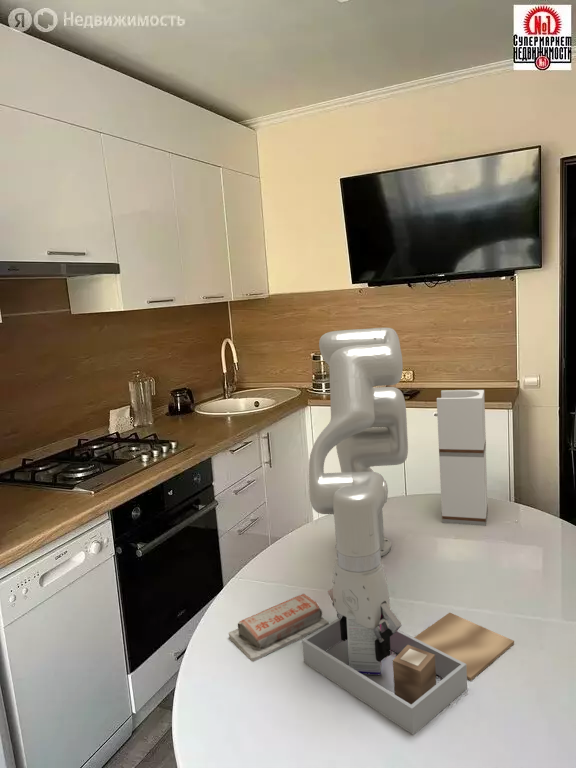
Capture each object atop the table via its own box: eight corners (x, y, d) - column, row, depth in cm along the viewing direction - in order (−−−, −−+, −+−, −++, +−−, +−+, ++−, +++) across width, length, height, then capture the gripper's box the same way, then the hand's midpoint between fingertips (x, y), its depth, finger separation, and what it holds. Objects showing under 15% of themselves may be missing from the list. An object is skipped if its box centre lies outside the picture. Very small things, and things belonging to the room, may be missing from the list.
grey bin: (303, 662, 109) (301, 640, 108) (357, 628, 118) (355, 607, 117) (413, 734, 90) (411, 708, 89) (467, 688, 99) (466, 664, 98)
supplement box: (382, 675, 104) (378, 616, 102) (348, 673, 105) (344, 615, 103) (383, 654, 109) (380, 597, 107) (351, 653, 110) (347, 597, 108)
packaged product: (300, 586, 128) (328, 605, 119) (301, 607, 128) (329, 627, 120) (225, 618, 118) (250, 641, 110) (228, 640, 119) (253, 664, 111)
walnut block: (395, 698, 98) (392, 659, 97) (409, 681, 102) (407, 644, 101) (422, 710, 95) (420, 670, 94) (436, 692, 99) (434, 654, 97)
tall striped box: (487, 510, 168) (484, 389, 162) (485, 525, 159) (481, 398, 153) (446, 508, 173) (441, 390, 166) (442, 523, 163) (436, 398, 157)
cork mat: (405, 646, 111) (405, 643, 111) (449, 615, 120) (449, 612, 120) (470, 681, 100) (470, 677, 100) (514, 643, 109) (514, 640, 109)
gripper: (309, 549, 107) (317, 636, 111) (382, 582, 94) (389, 680, 97) (338, 535, 112) (345, 619, 115) (412, 564, 99) (417, 658, 102)
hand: (365, 646), depth 106 cm, fingers closed on supplement box, 7 cm apart
